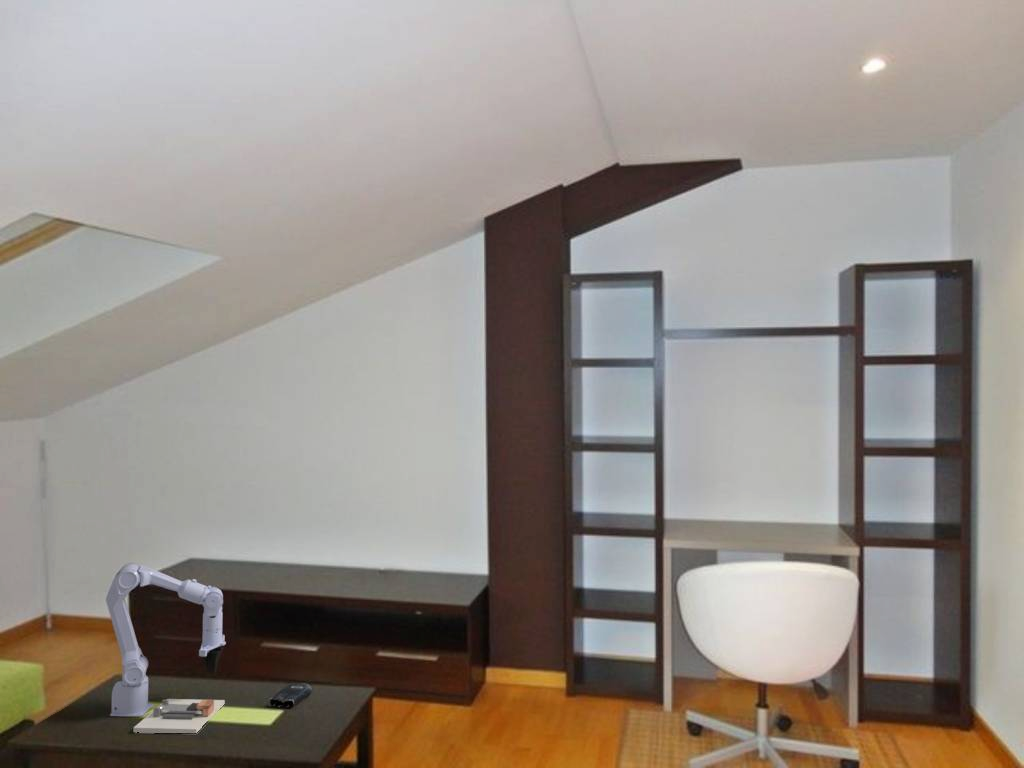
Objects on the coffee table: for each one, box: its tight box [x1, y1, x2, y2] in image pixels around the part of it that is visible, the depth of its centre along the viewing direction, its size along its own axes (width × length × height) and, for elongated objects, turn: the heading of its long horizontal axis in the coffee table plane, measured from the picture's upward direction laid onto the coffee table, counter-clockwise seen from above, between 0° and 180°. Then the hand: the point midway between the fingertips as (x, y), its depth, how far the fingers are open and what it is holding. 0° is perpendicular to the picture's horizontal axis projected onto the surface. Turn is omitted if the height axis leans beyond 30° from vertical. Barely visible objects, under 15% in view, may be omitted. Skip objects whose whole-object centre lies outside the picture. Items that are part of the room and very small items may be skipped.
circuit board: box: [132, 698, 226, 734], centre depth 224 cm, size 18×20×4 cm
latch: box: [197, 699, 215, 716], centre depth 224 cm, size 4×4×3 cm
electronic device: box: [266, 682, 313, 709], centre depth 240 cm, size 9×6×15 cm
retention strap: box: [158, 703, 203, 714], centre depth 224 cm, size 14×4×2 cm, turn 89°
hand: (211, 671), depth 236 cm, fingers closed
